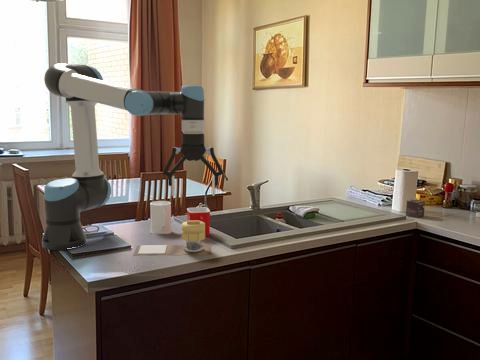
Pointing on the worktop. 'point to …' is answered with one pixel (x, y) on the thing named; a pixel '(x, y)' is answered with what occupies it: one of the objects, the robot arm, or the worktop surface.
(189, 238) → the yellow block
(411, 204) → the box
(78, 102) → the robot arm
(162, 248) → the pad
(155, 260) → the worktop surface
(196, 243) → the clear drinking glass
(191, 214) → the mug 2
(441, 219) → the worktop surface
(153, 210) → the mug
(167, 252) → the board
